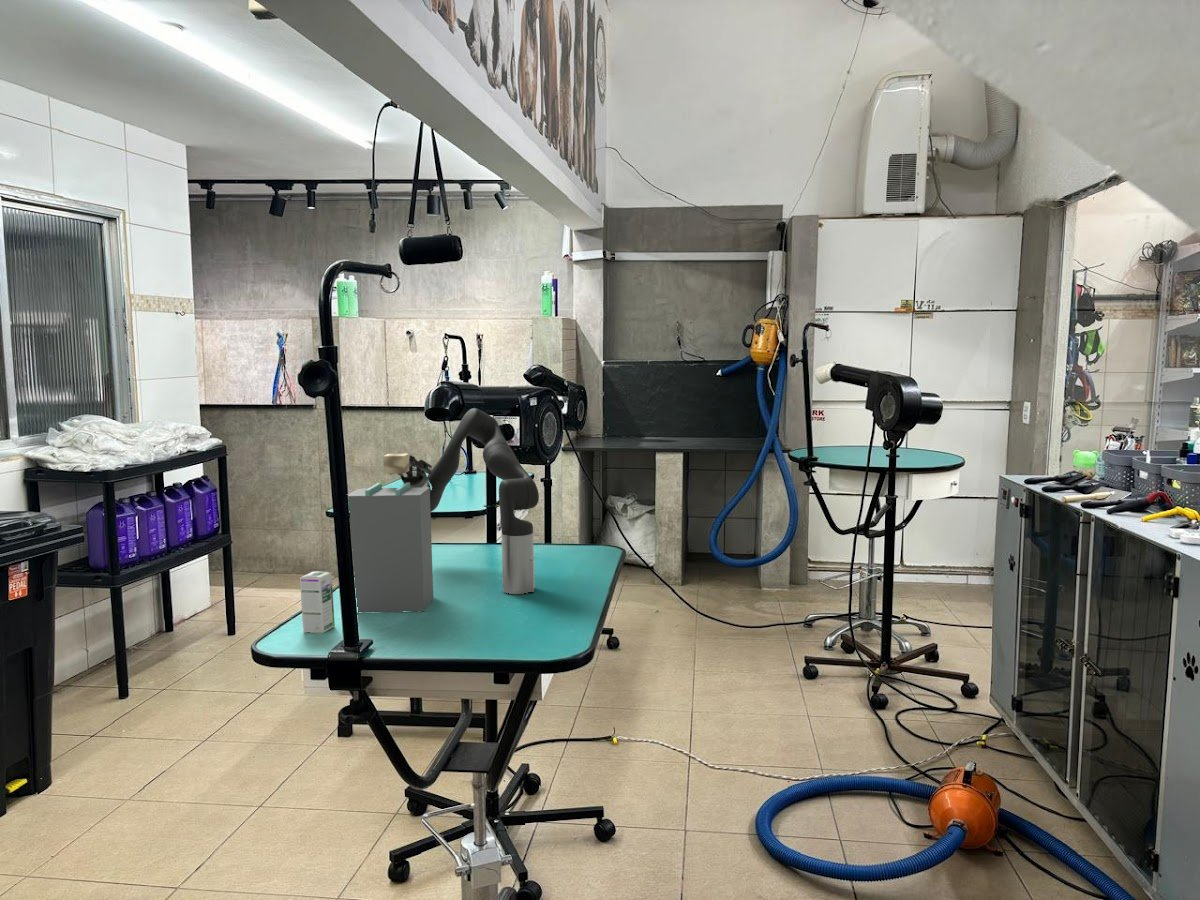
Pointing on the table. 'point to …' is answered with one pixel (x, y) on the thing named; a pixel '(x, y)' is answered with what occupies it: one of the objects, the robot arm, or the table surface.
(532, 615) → the table surface
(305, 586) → the syrup box
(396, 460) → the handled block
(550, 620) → the table surface
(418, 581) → the tall grey pedestal
